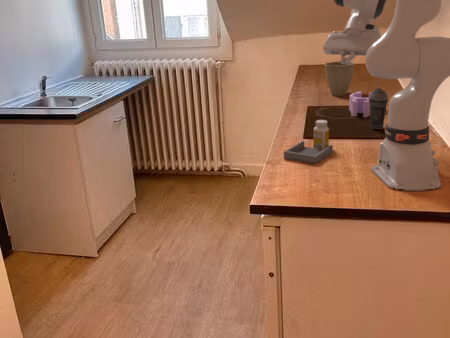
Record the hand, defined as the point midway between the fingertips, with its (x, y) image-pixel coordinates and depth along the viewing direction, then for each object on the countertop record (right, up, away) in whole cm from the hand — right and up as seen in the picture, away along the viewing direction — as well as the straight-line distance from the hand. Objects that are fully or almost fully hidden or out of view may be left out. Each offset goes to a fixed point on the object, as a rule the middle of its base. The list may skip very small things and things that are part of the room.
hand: (344, 63), depth 166 cm
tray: (-14, -33, -7) cm, 37 cm away
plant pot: (+17, +1, +76) cm, 78 cm away
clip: (+19, -12, +42) cm, 48 cm away
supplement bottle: (-9, -30, 0) cm, 31 cm away
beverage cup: (+17, -22, +17) cm, 32 cm away
